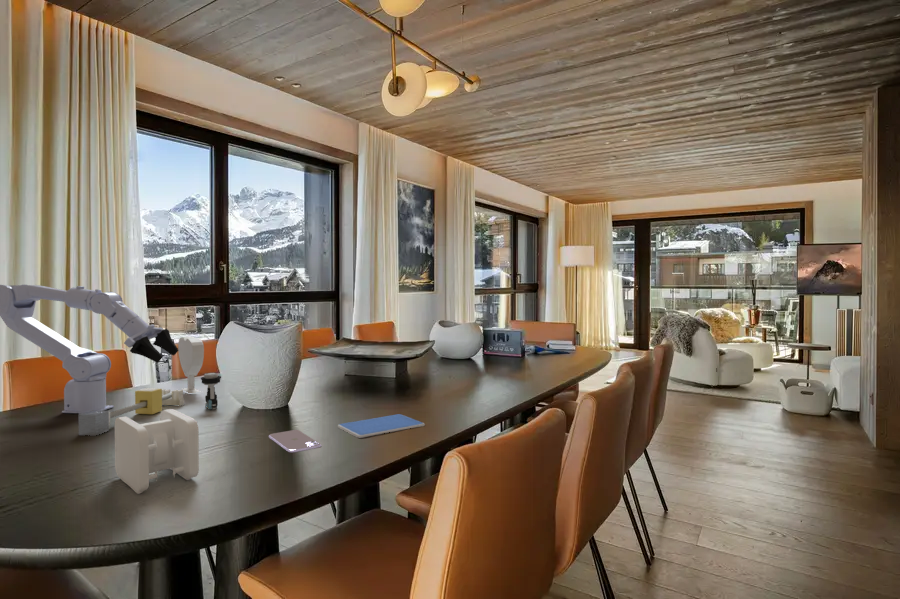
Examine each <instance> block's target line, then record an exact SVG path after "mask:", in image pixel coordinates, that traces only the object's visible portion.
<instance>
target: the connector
mask: <svg viewBox="0 0 900 599" xmlns="http://www.w3.org/2000/svg"><path fill="white" fill-rule="evenodd" d="M110 412H111V411H110V410H103V411H99V410H91V411H88V412H85V413H77V414H78V415H77V416H78V436H85V435H88V437H90V436H91V437H97V436H99V434H100V435H103V434H105V433H107V431H108V432H109V431H110V425H111V418H110ZM104 432H105V433H104ZM102 433H103V434H102ZM89 435H90V436H89ZM96 435H97V436H96Z"/></svg>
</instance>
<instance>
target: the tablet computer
mask: <svg viewBox="0 0 900 599" xmlns="http://www.w3.org/2000/svg"><path fill="white" fill-rule="evenodd" d="M425 425H426V424H425V423H424V422H422V421H419V420H417V419H414V418H413V417H409V416H406V415H403V414H401V413H397V414H393V415H392V414H391V415H387V416H386V415H385V416H380V417H374V418H368V419H362V420H357V421H356V420H355V421H349V422H343V423H339V424H337V428H338V429H340V430H341V431H343V430H344V432H346V433H347V432H348V433H347V434H349V435H351V436H354V437H355V438H356V439H364V438H367V437H368V438H369V437H373V436H374V437H375V436H379V435H384V433H385V434H388V433H389V432H390V433H393V432H394V433H395V432H399V431H404V430H411V429H416V428H422V427H425ZM410 428H411V429H410Z"/></svg>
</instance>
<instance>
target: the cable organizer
mask: <svg viewBox="0 0 900 599" xmlns="http://www.w3.org/2000/svg"><path fill="white" fill-rule="evenodd" d="M199 438H200V437H199V425H198V420H197V421H196V419H195V418H193V417H191V416H189V415H187V414H184V413H183V412H180V411H178V410H176V409H173V408H169V409H168V408H167V409H162V411H160V414H159V420H158V421H157V420H156V421H151V422H146V423H141V424H140V423H139V422H137V421H134V420H133V419H132V418H130V417H128V416H121V417H117V418H115V420H114V468H115V472H116V475H117V477H118V478H119V479H121V481H122V482H123V483H125V484H126V485H127V486H128V487H130V488H131V490H132V491H133V492H135V493H136V494H137V495H140V494H143V492H144V491H148V489H149V486H150V485H149V484H150V480H155V481H156V482H157V481H158V476H159V475H158V472H161V471H165V470H171V471H172V476H173V478H174V479H175V477H176V474H178V476H180V477H181V478H183V479H185V480H186V481H190V480H192V478H196V477H197V476H198V475H199V471H200V466H199V464H200V457H199V455H200V454H199V453H200V452H199V451H200V450H199V449H200V448H199V441H200V439H199Z"/></svg>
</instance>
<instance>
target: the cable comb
mask: <svg viewBox="0 0 900 599" xmlns="http://www.w3.org/2000/svg"><path fill="white" fill-rule="evenodd" d="M171 392H172V397H171V398H168V399H165V400H163V401H162V405H179V406H178V407H181V406H180V405H182V406H184V405H185V398H184V393H183V390H178V389H174V390H171V389H164V388H162V395H165V394H168V393H171ZM183 404H184V405H183Z"/></svg>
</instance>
